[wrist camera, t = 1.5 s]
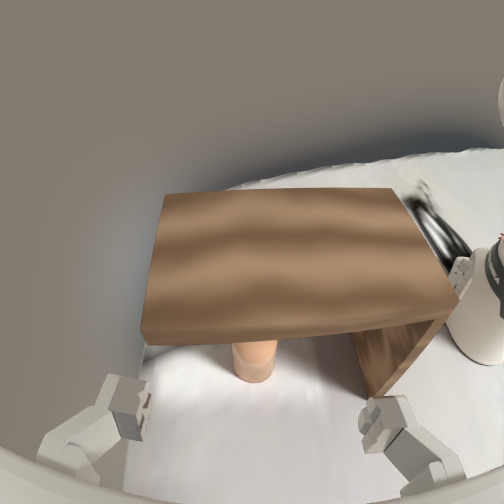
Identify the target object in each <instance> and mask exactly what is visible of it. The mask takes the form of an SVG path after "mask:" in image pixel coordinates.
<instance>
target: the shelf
mask: <svg viewBox="0 0 504 504" xmlns="http://www.w3.org/2000/svg"><path fill="white" fill-rule="evenodd" d="M459 302H460V300H459V298H458V296H457V294H456V292H455V290H454V288H453V286H452V285H451V283H450V281H449V279H448V277H447V275H446V274H445V272H444V270H443V268H442V267H441V265H440V263H439V261H438V260H437V258H436V256H435V255H434V253H433V251H432V250H431V248H430V246H429V245H428V243H427V241H426V240H425V238H424V236H423V235H422V233H421V232H420V230H419V229H418V227H417V225H416V224H415V222H414V221H413V219H412V218H411V216H410V215H409V213H408V212H407V210H406V209H405V207H404V206H403V204H402V203H401V201H400V200H399V198H398V197H397V195H396V194H395V193H394V191H393V190H392V188H283V189H252V190H229V191H210V192H194V193H179V194H166V195H165V198H164V202H163V207H162V211H161V215H160V220H159V225H158V229H157V235H156V239H155V245H154V250H153V255H152V260H151V265H150V271H149V276H148V282H147V289H146V294H145V300H144V307H143V313H142V320H141V327H140V331H141V333H142V335H143V337H144V339H145V341H146V343H147V345H200V344H225V343H243V342H258V341H272V340H284V339H295V338H306V337H316V336H325V335H334V334H342V333H350V332H351V336H352V339H353V343H354V346H355V350H356V353H357V357H358V361H359V364H360V368H361V372H362V375H363V379H364V383H365V387H366V391H367V395H368V398H370V397H379V396H384V395H385V394H386V393H387V392H388V390H389V389H390V388H391V387H392V386H393V385H394V384H395V383H396V382H397V381H398V379H399V378H400V377H401V376H402V375H403V374H404V373H405V372H406V370H407V369H408V368H409V367H410V366H411V365H412V363H413V362H414V361H415V360H416V359H417V357H418V356H419V355H420V354H421V353H422V351H423V350H424V349H425V348H426V346H427V345H428V344H429V343H430V341H431V340H432V339H433V337H434V336H435V335H436V334H437V332H438V331H439V330H440V328H441V327H442V326H443V324H444V323H445V322H446V320H447V319H448V317H449V316H450V315H451V313H452V312H453V310H454V309H455V308H456V306H457V305H458V303H459Z"/></svg>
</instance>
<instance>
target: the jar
mask: <svg viewBox="0 0 504 504" xmlns="http://www.w3.org/2000/svg"><path fill="white" fill-rule="evenodd" d="M277 342H278V340H272V341H258V342H243V343H231V344H232V354H233V365H234V370H235V373H236V374H237V376H238V377H239V378H240V379H242V380H243V381H245V382H248V383H259V382H262V381H264V380H266V379H267V378H269V377H270V375H271V374H272V372H273V369H274V363H275V356H276V349H277Z"/></svg>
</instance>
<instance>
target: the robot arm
mask: <svg viewBox="0 0 504 504" xmlns="http://www.w3.org/2000/svg"><path fill="white" fill-rule="evenodd" d="M498 105H499V113H500V117H501V121H502V124H503V126H504V78H503V80H502V83H501V86H500V90H499V97H498ZM501 235H502V236H503V238H502V237H499V238H498V239H500V240H499V241H498V242H497V243H496V244H495V245H493V246H492V247H491V249H489V248H477V249H475V250H474V252H473V253H472V255H471V257H470V258H467V257H458V258H456V260H455V261H454V263H453V266H452V269H451V271H450V274H449V276H448V279H449V281H450V283H451V285H452V286H453V288H454V290H455V292H456V294H457V296H458V298H459V300H460V302H459V303H458V305H457V306H456V308H455V309H454V310H453V312H452V313H451V315H450V316H449V317H448V319H447V320H446V322H445V323H446V325H447V326H448V329H449V331H450V333H451V336H452V338H453V339H454V341H455V343H456V344H457V345H458V347H459V348H460V349H461V350H462V351H463V352H464V353H465V354H466V355H467V356H468V357H470V358H471V359H473V360H474V361H476V362H478V363H481V364H484V365H497V364H500V363H502V362H504V234H502V233H501ZM149 389H150V385H149V382H148V381H143V380H138V379H134V378H129V377H125V376H121V375H116V374H111V373H109V374H108V375H107V376H106V378H105V381H104V383H103V385H102V388H101V390H100V392H99V395H98V397H97V400H96V402H95V404H94V406H89V407H87V408H86V409H84V410H82V411H81V412H79V413H78V414H76V415H75V416H73V417H72V418H70V419H68V420H67V421H65V422H64V423H62V424H61V425H59V426H58V427H56V428H54V429H53V430H51V431H50V432H48V433H47V434H45V436H44V439H43V441H42V443H41V445H40V448H39V450H38V452H37V455H36V457H35V459H34V461H32V460H29V459H27V458H25V457H23V456H21V455H19V454H17V453H14V452H12V451H10V450H8V449H6V448H4V447H2V446H0V504H180V503H174V502H168V501H162V500H157V499H152V498H147V497H143V496H138V495H134V494H130V493H126V492H122V491H118V490H114V489H110V488H107V487H103V486H100V485H99V482H100V478H99V476H98V474H97V473H96V471H95V470H94V468H93V466H92V464H93V463H94V462H96V461H97V460H98V459H99V458H100V457H101V456H102V455H104V453H106V452H107V451H108V450H109V449H110V448H111V447H112V446H114V445H115V444H116V443H117V442H118V441H119V440H120V439H121V438H126V439H131V440H136V441H141V442H143V440H144V436H145V432H146V429H147V427H146V422H145V421H146V420H147V419H149V417H150V413H151V406H152V397H151V394H150V393H149ZM366 405H367V407H365V408H364V409H362V410H361V412H360V414H359V418H358V428H359V431H360V432H361V433H362V434H363V435H364V437H363V439H362V444H363V448H364V452H365V454H370V453H382V452H384V454H385V456H386V457H387V458H388V459H389V460H390V461H391V462H392V463H393V465H394V466H395V467H396V468H397V469H398V470H399V471H400V472H401V473H402V475H403V476H404V477H405V478H406V479H407V480H408V481H409V483H408V484H407V485H405V486H404V487H403V488H402V489H401V490H400V494H401V498H396V499H391V500H386V501H380V502H374V503H368V504H504V465H502V466H500V467H497V468H495V469H492V470H490V471H487V472H485V473H482V474H479V475H477V476H474V477H471V478H468V479H467V478H466V475H465V472H464V470H463V467H462V464H461V462H460V459H459V457H458V455H457V454H456V453H454V452H453V451H452V450H451V449H449V448H448V447H447V446H446V445H444V444H443V443H442V442H441V441H439V440H438V439H437V438H436V437H435V436H433V435H432V434H431V433H430V432H428V431H427V430H426V429H425V428H423V427H422V426H418V424H417V421H416V419H415V416H414V414H413V411H412V409H411V406H410V404H409V401H408V399H407V397H406V396H405V395H398V396H379V397H370V398H369V399H368V400H367V402H366Z"/></svg>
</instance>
